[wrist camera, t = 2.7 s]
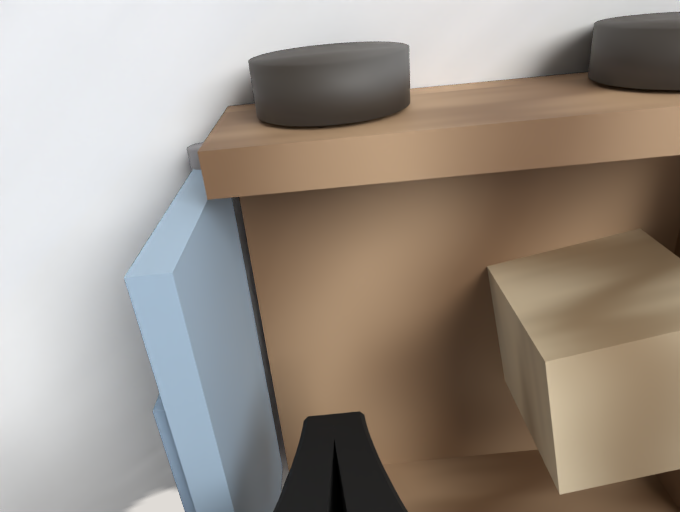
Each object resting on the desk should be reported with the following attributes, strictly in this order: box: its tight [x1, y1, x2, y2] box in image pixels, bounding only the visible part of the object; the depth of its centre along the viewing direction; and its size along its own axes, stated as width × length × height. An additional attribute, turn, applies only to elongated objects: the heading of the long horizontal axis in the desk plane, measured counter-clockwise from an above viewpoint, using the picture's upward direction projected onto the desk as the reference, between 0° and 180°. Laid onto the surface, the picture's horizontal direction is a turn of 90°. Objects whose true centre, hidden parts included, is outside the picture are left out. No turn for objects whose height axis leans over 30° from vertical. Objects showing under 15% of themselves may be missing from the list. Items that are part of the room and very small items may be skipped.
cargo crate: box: [487, 228, 680, 494], centre depth 15 cm, size 4×4×4 cm
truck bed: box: [198, 12, 680, 512], centre depth 16 cm, size 14×17×4 cm
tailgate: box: [124, 142, 283, 512], centre depth 14 cm, size 1×12×6 cm, turn 5°
